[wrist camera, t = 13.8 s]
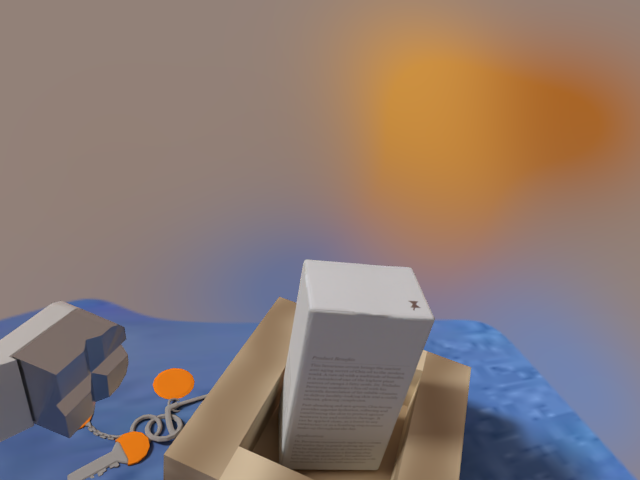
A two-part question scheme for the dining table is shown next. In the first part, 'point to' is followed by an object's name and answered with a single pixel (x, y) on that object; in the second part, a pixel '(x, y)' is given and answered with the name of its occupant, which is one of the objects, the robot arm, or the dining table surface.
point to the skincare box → (349, 363)
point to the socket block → (263, 431)
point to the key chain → (136, 443)
